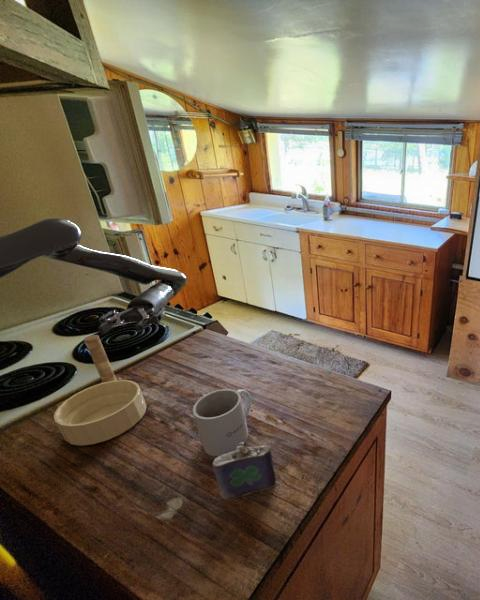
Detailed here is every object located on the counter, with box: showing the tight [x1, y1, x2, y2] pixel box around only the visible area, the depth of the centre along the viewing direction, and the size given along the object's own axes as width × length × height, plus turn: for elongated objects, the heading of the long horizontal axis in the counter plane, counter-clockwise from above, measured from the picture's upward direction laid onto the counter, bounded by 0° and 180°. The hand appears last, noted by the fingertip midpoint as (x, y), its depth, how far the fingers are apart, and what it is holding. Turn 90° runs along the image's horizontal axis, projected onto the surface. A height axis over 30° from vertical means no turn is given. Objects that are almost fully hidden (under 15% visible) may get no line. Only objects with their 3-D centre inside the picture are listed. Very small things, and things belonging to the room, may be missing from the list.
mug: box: [192, 388, 252, 457], centre depth 69 cm, size 12×9×10 cm
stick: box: [83, 334, 122, 384], centre depth 80 cm, size 4×4×15 cm
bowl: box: [53, 379, 147, 447], centre depth 71 cm, size 14×14×6 cm
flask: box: [212, 442, 277, 501], centre depth 58 cm, size 9×3×11 cm, turn 110°
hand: (119, 330), depth 87 cm, fingers open, 8 cm apart
